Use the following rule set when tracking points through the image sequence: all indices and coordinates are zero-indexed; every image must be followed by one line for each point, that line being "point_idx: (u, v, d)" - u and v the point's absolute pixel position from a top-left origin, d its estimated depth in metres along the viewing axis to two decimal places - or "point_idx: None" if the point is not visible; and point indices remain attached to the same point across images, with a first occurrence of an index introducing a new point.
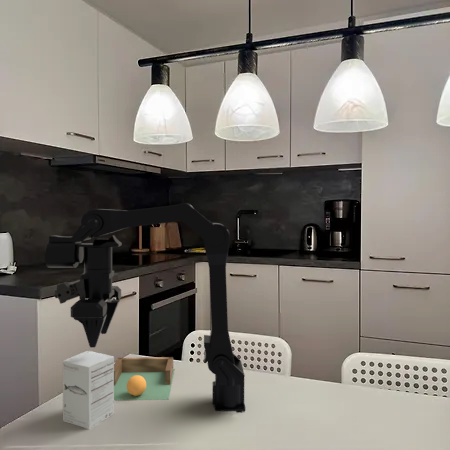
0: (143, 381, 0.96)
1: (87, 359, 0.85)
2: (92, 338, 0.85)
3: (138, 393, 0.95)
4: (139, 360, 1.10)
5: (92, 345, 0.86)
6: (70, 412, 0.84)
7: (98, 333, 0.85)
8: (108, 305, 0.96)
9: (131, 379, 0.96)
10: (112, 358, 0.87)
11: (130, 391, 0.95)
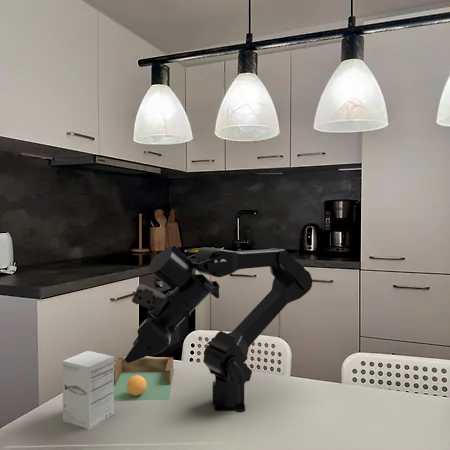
0: (143, 381, 0.96)
1: (87, 359, 0.85)
2: (133, 355, 0.81)
3: (138, 393, 0.95)
4: (139, 360, 1.10)
5: (127, 360, 0.81)
6: (70, 412, 0.84)
7: (142, 356, 0.81)
8: None
9: (131, 379, 0.96)
10: (112, 358, 0.87)
11: (130, 391, 0.95)
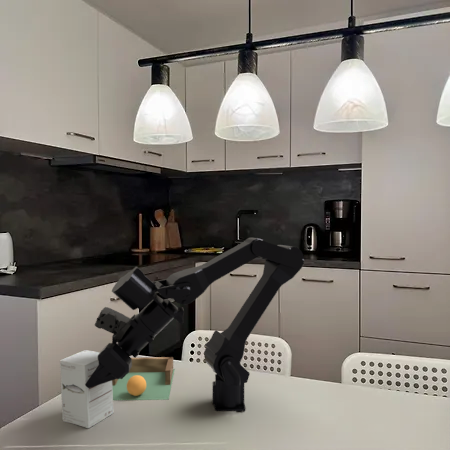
0: (143, 381, 0.96)
1: (84, 357, 0.85)
2: (94, 381, 0.80)
3: (138, 393, 0.95)
4: (139, 360, 1.10)
5: (88, 385, 0.81)
6: (69, 411, 0.84)
7: (102, 382, 0.80)
8: None
9: (131, 379, 0.96)
10: None
11: (130, 391, 0.95)
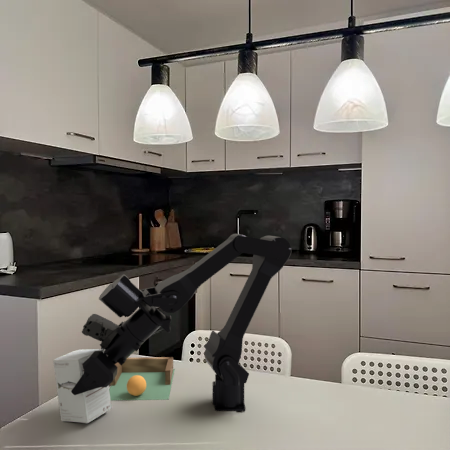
0: (143, 381, 0.96)
1: (77, 354, 0.86)
2: (79, 388, 0.81)
3: (138, 393, 0.95)
4: (139, 360, 1.10)
5: (74, 392, 0.82)
6: (67, 409, 0.84)
7: (88, 389, 0.81)
8: None
9: (131, 379, 0.96)
10: (102, 351, 0.88)
11: (130, 391, 0.95)
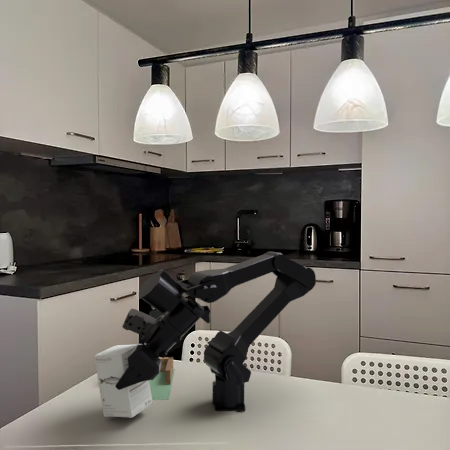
0: None
1: (118, 349, 0.86)
2: (124, 382, 0.81)
3: None
4: None
5: (118, 387, 0.82)
6: (110, 404, 0.84)
7: (132, 383, 0.81)
8: None
9: None
10: None
11: None
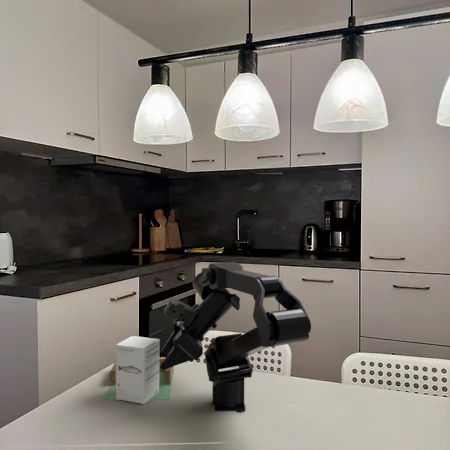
0: None
1: (138, 342, 0.95)
2: (168, 363, 0.91)
3: None
4: None
5: (162, 367, 0.91)
6: (124, 390, 0.93)
7: (176, 364, 0.90)
8: None
9: None
10: (158, 341, 0.97)
11: None
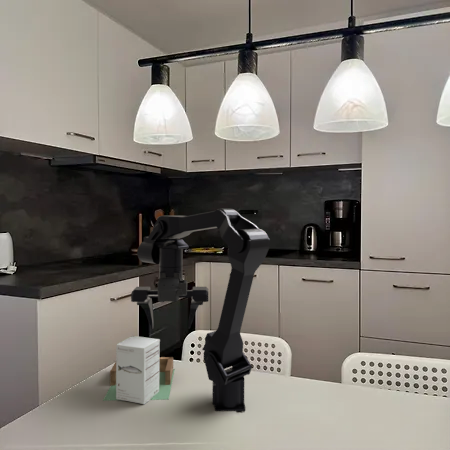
0: None
1: (138, 342, 0.95)
2: None
3: None
4: None
5: (190, 326, 1.06)
6: (124, 390, 0.93)
7: None
8: (150, 302, 1.06)
9: None
10: (158, 341, 0.97)
11: None
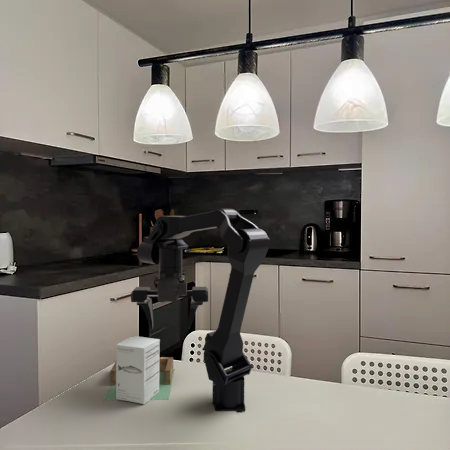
0: None
1: (138, 342, 0.95)
2: None
3: None
4: None
5: (190, 326, 1.06)
6: (124, 390, 0.93)
7: None
8: (150, 302, 1.06)
9: None
10: (158, 341, 0.97)
11: None
